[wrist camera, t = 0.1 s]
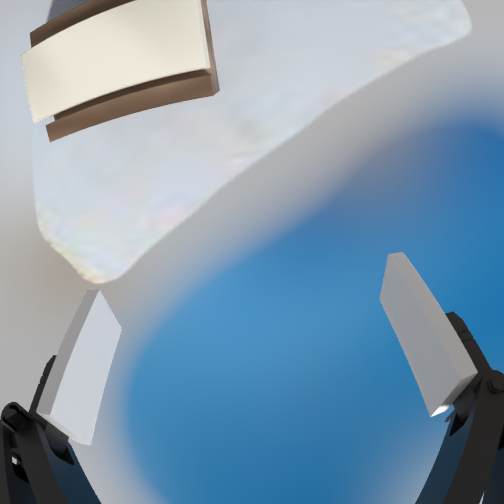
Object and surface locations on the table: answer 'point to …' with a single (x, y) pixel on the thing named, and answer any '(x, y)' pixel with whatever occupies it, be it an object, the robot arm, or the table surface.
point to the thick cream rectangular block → (114, 53)
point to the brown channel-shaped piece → (131, 97)
